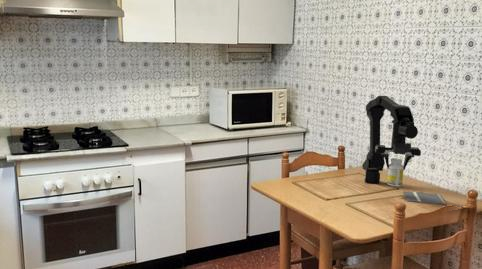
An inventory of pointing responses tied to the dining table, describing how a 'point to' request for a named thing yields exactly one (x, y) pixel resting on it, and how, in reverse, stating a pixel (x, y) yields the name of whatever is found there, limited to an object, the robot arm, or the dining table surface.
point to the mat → (424, 197)
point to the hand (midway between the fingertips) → (395, 169)
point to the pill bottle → (395, 172)
